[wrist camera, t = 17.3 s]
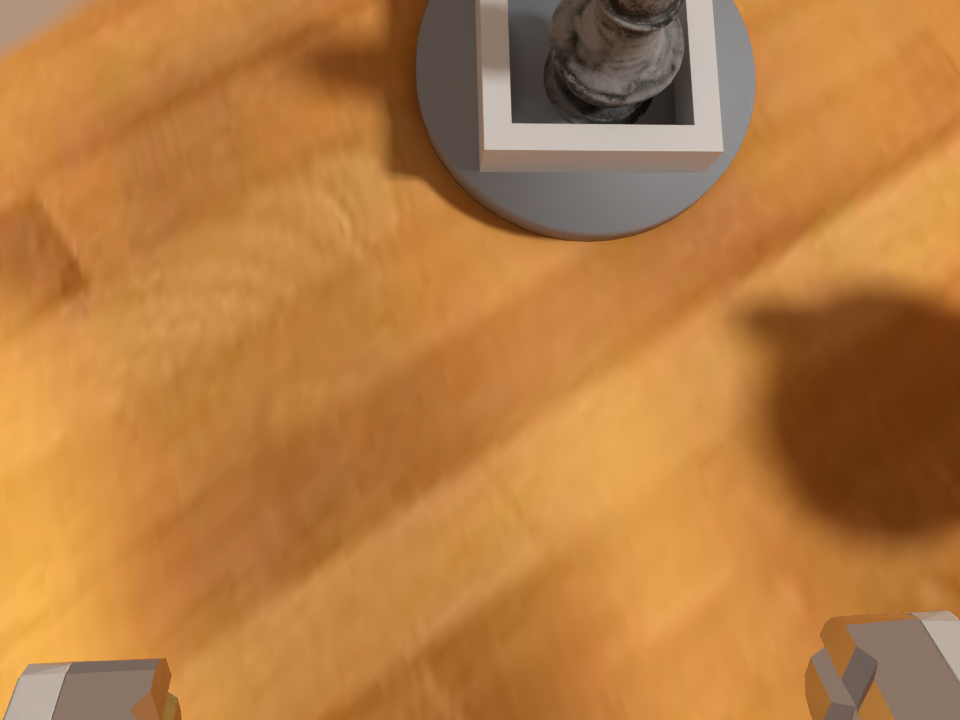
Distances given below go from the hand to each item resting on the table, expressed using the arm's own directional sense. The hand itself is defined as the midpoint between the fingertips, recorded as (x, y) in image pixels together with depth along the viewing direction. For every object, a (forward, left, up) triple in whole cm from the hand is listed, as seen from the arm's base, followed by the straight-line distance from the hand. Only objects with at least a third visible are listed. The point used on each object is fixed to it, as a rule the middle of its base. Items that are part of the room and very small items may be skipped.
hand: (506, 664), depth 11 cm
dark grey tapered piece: (+8, +22, -27) cm, 35 cm away
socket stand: (+7, +22, -28) cm, 37 cm away
